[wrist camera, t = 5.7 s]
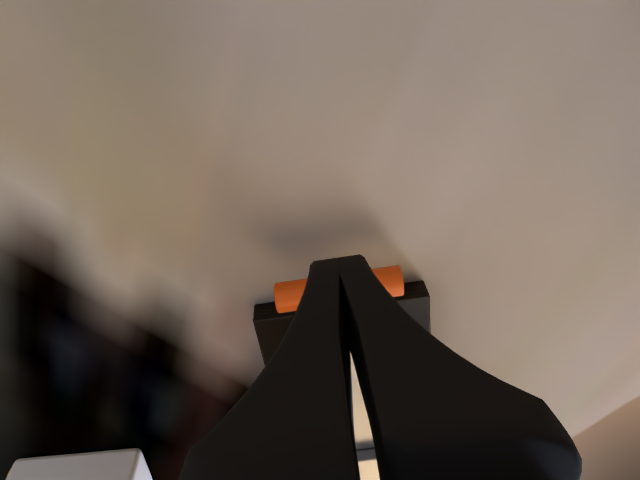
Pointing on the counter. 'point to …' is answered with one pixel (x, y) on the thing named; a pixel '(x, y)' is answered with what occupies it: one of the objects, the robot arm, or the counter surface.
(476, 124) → the counter surface
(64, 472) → the medicine bottle
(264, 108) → the counter surface
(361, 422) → the switch lever
